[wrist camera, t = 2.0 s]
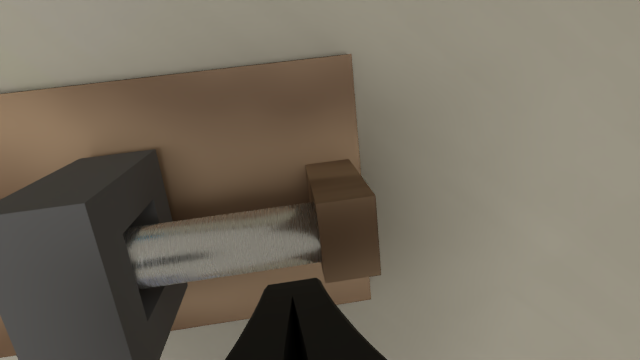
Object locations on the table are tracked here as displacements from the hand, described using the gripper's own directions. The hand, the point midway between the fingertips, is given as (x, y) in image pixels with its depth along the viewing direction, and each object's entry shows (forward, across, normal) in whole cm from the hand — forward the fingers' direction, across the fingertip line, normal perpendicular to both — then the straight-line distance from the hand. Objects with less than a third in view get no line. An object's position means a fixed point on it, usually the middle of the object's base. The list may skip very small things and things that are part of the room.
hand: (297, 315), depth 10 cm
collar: (+8, +7, 0) cm, 10 cm away
